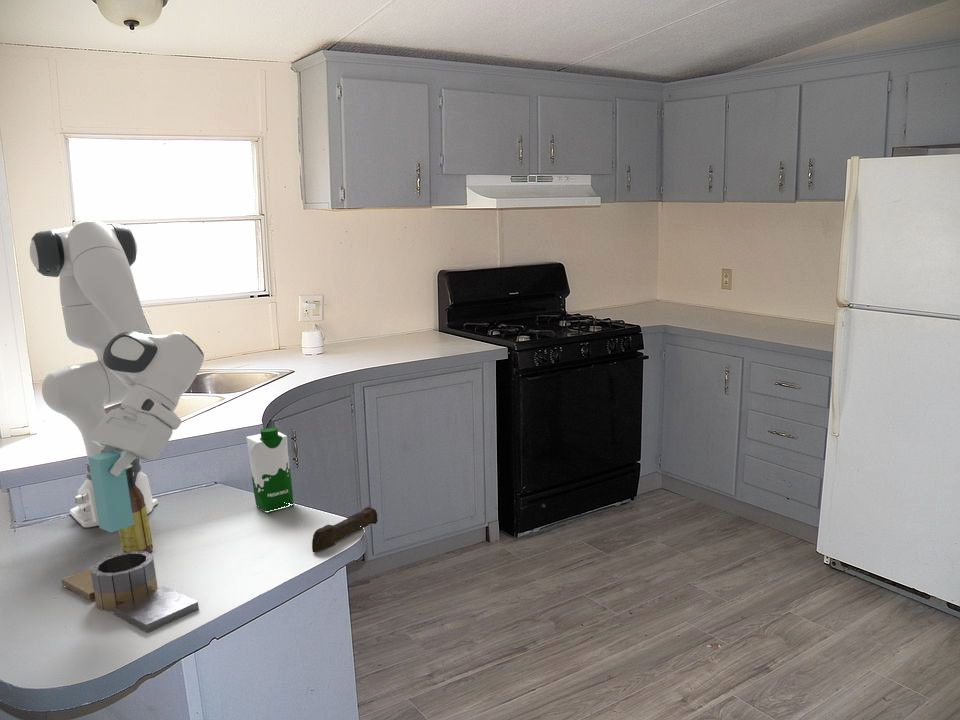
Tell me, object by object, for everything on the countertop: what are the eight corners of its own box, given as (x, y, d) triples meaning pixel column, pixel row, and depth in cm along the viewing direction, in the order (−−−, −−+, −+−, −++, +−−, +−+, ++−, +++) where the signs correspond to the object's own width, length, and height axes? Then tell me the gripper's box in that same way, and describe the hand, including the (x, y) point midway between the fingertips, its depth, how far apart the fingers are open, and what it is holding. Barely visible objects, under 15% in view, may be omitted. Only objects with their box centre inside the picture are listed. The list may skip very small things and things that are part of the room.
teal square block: (99, 527, 153) (87, 456, 151) (122, 519, 157) (111, 450, 154) (110, 532, 150) (99, 460, 148) (134, 524, 154) (122, 453, 151)
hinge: (60, 586, 163) (54, 554, 161) (113, 566, 171) (108, 535, 170) (145, 633, 141) (139, 596, 140) (200, 608, 149) (195, 572, 148)
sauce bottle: (141, 545, 182) (128, 460, 178) (159, 549, 178) (146, 462, 175) (115, 556, 176) (101, 469, 172) (133, 561, 173) (120, 472, 169)
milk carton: (264, 515, 195) (254, 435, 191) (251, 506, 202) (241, 428, 198) (298, 506, 200) (289, 427, 196) (284, 497, 207) (275, 421, 203)
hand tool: (366, 521, 187) (364, 502, 186) (379, 524, 185) (377, 505, 184) (304, 552, 172) (302, 531, 171) (317, 556, 170) (315, 535, 169)
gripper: (108, 395, 161) (65, 455, 156) (161, 405, 148) (117, 472, 143) (132, 411, 165) (92, 471, 160) (186, 423, 152) (144, 488, 147)
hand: (104, 472), depth 151 cm, fingers closed on teal square block, 4 cm apart
